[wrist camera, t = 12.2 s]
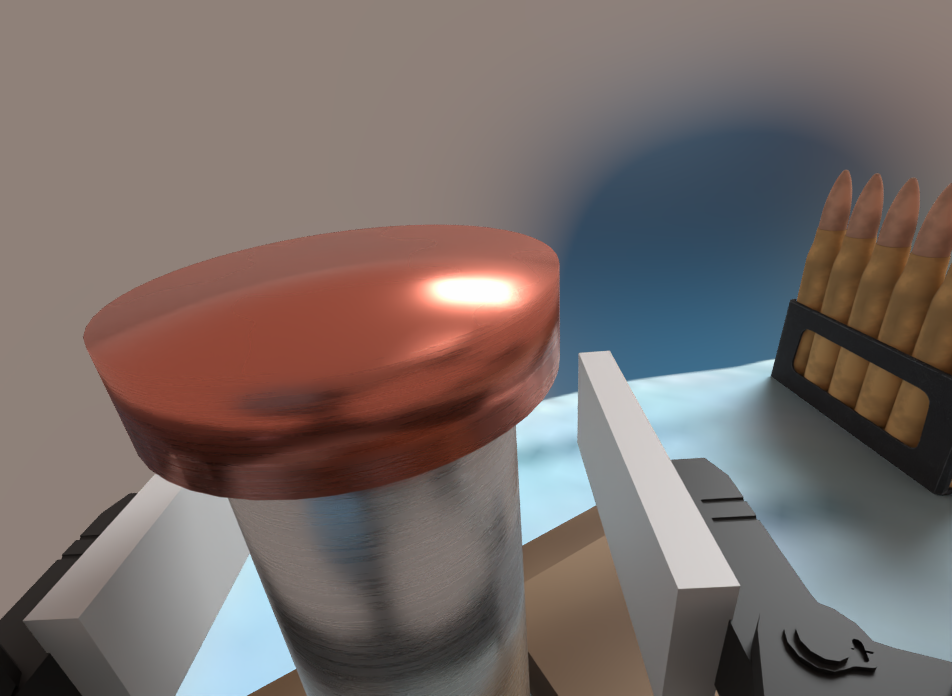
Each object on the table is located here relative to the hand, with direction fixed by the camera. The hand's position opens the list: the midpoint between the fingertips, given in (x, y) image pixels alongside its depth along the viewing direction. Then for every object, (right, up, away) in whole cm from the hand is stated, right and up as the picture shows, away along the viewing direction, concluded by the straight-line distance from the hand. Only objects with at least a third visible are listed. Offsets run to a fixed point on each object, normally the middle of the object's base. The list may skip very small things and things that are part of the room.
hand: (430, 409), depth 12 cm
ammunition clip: (+21, -2, +12) cm, 25 cm away
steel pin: (+1, -10, 0) cm, 10 cm away
